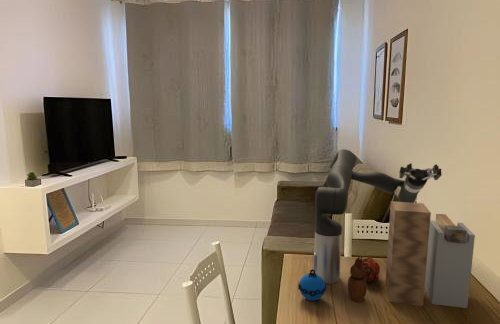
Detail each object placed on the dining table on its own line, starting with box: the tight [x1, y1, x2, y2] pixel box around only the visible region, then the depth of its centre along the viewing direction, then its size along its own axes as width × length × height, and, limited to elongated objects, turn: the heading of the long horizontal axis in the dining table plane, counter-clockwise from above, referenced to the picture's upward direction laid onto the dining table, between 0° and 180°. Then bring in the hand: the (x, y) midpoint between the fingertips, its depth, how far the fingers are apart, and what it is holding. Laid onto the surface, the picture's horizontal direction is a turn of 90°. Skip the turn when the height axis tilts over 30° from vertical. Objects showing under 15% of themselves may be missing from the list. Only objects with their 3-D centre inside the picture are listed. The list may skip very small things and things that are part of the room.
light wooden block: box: [435, 213, 467, 244], centre depth 120 cm, size 5×20×4 cm, turn 166°
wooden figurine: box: [347, 255, 367, 302], centre depth 118 cm, size 7×6×15 cm
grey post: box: [424, 220, 476, 309], centre depth 119 cm, size 10×12×24 cm
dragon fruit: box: [362, 256, 381, 283], centre depth 132 cm, size 8×8×12 cm
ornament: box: [297, 268, 327, 301], centre depth 118 cm, size 9×9×10 cm
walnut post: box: [384, 200, 432, 307], centre depth 119 cm, size 10×11×30 cm
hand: (423, 166), depth 135 cm, fingers open, 8 cm apart
